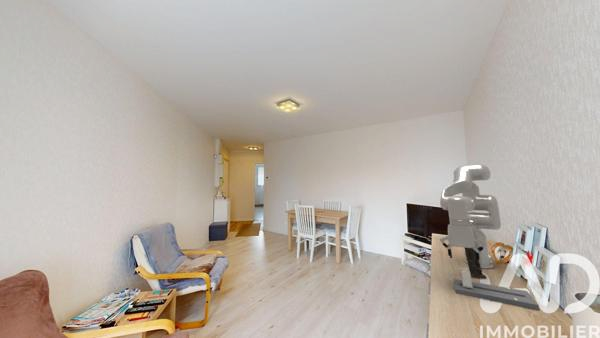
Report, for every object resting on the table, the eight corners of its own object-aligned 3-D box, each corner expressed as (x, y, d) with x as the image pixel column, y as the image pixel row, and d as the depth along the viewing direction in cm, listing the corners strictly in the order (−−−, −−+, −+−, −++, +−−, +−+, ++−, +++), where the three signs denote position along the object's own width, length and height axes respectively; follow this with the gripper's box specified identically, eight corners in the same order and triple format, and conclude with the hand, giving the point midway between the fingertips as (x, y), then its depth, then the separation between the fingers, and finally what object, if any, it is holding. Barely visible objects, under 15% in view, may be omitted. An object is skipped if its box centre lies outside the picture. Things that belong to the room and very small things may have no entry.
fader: (463, 286, 92) (461, 272, 93) (461, 280, 98) (459, 266, 99) (473, 288, 90) (471, 273, 91) (471, 282, 96) (469, 268, 97)
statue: (487, 279, 103) (482, 240, 105) (472, 278, 105) (467, 239, 106) (478, 273, 110) (473, 236, 112) (464, 273, 111) (459, 236, 113)
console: (455, 293, 92) (455, 288, 92) (453, 282, 102) (453, 277, 102) (539, 310, 77) (538, 304, 77) (527, 295, 87) (527, 290, 87)
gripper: (481, 222, 95) (486, 259, 93) (437, 220, 105) (441, 254, 103) (484, 225, 89) (489, 264, 87) (437, 222, 99) (441, 258, 97)
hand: (463, 259), depth 95 cm, fingers open, 9 cm apart
